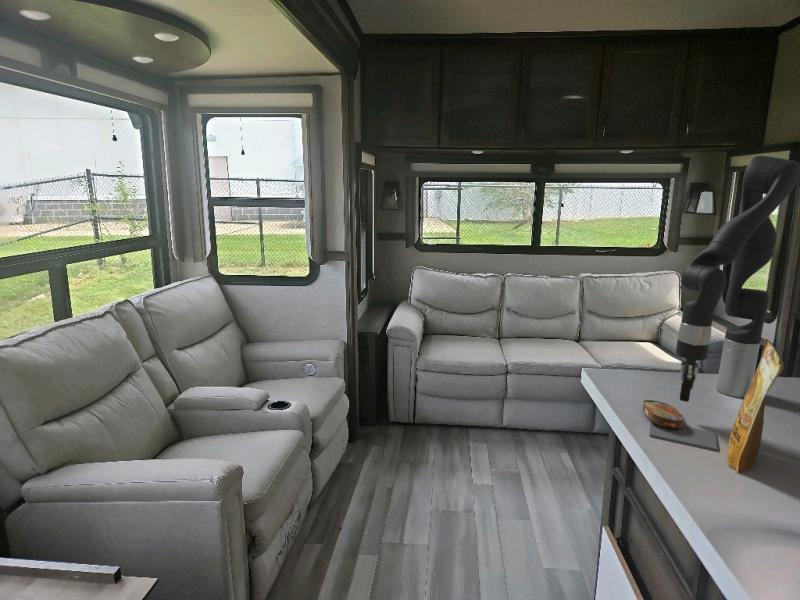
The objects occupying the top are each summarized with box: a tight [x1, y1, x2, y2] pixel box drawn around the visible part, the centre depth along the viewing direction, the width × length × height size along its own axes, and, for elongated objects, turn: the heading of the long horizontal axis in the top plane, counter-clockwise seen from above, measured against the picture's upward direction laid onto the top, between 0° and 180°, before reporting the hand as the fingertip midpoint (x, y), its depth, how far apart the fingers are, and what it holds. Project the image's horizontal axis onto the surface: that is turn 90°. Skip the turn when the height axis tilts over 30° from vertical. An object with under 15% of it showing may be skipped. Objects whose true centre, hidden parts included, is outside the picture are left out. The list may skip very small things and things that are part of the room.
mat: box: [649, 421, 719, 452], centre depth 133 cm, size 10×15×1 cm, turn 63°
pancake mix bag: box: [727, 338, 785, 473], centre depth 119 cm, size 7×19×28 cm, turn 146°
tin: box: [642, 399, 686, 429], centre depth 140 cm, size 15×3×8 cm
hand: (683, 400), depth 141 cm, fingers closed
